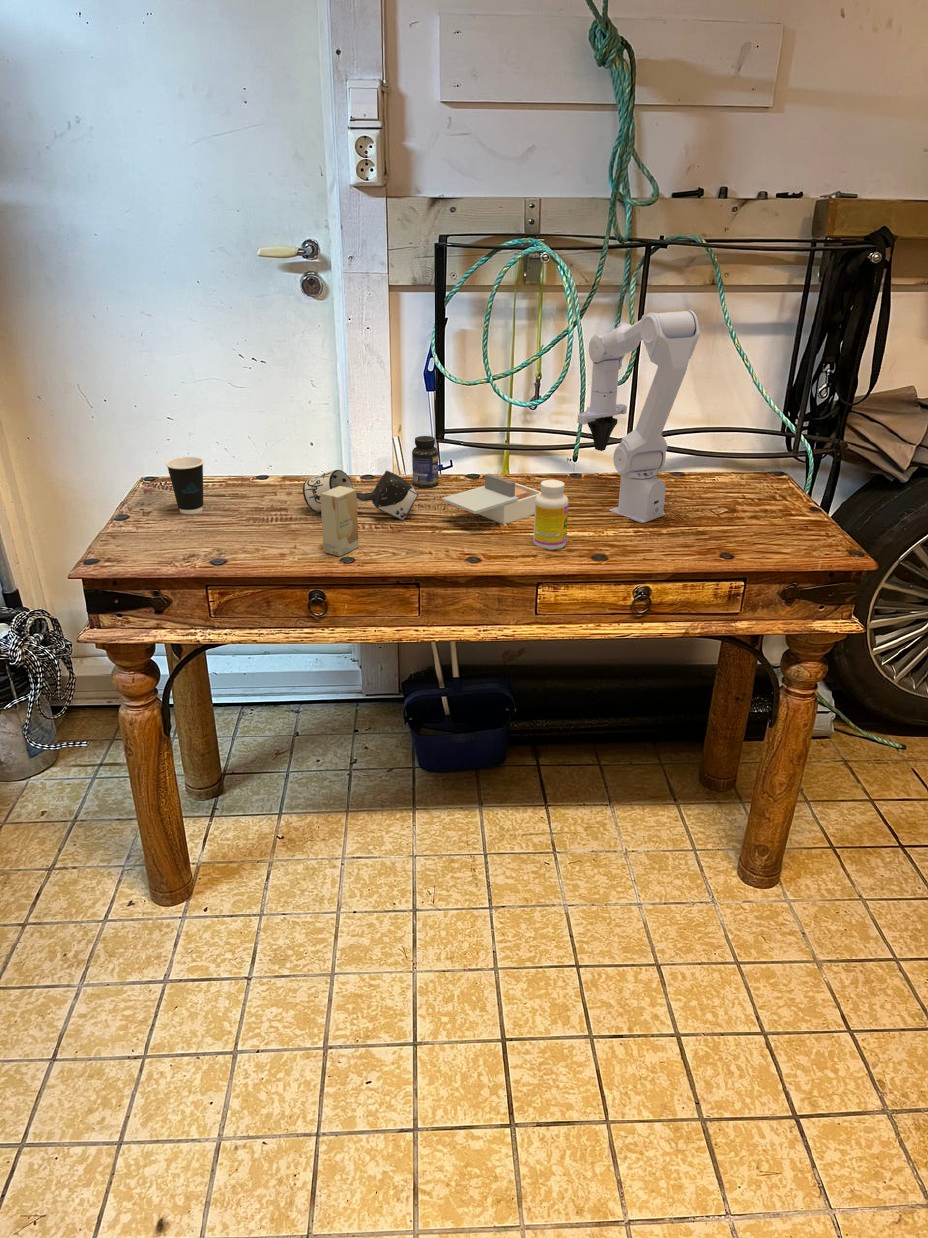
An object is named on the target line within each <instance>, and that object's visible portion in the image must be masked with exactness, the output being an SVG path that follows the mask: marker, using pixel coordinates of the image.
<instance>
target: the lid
mask: <svg viewBox="0 0 928 1238" xmlns="http://www.w3.org/2000/svg"><path fill="white" fill-rule="evenodd" d="M515 483H516V482H514V481H512V480H508V479H506V478H503V477H500V476H497V475H495V474H491V473H486V474H484V485H482V486H478V487H476V488H472V489H469V490H465V491H464V490H463V491H462V492H458V493H455V494H451V495H447V496H444V497H441V501H442V502H445V503H446V504H448V505H451V506H454V507H456V508H459V509H460V510H461V509H462V510H464V511H467V512H469V513H472V514H474V515H476V514H477V513H480V512H483V511H486V510H489V509H492V508H496V507H499V506H502V505H505V504H508V503H512V502H515V501H518V500H519V498H518V497H516V496H515ZM477 515H478V514H477Z"/></svg>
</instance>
